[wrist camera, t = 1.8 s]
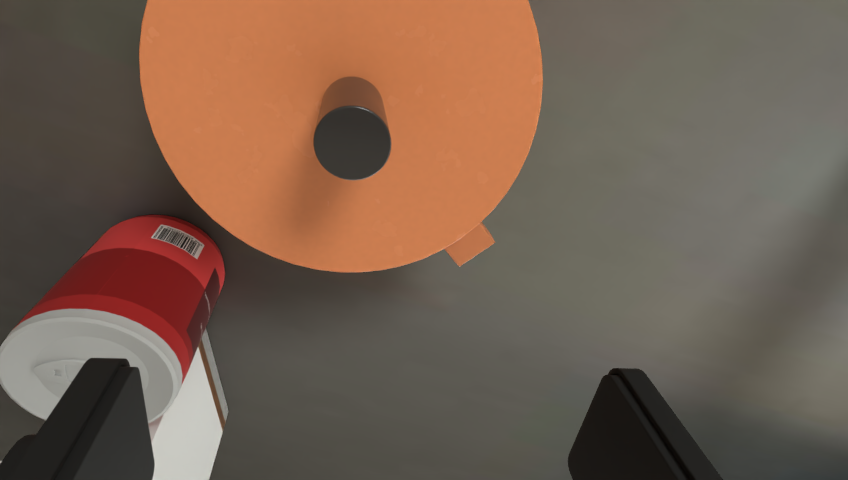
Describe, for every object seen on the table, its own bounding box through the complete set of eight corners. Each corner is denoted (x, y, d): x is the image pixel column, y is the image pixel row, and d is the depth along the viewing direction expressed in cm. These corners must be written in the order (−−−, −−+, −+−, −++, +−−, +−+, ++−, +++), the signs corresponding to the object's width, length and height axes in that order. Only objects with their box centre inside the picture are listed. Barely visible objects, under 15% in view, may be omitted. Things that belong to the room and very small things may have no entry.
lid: (384, -253, 16) (400, -365, 11) (593, 132, 24) (663, 180, 18) (57, 62, 19) (-56, 98, 14) (333, 312, 27) (329, 397, 22)
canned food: (80, 217, 31) (-43, 329, 21) (210, 203, 31) (147, 306, 22) (125, 313, 34) (38, 445, 25) (240, 299, 35) (198, 422, 26)
